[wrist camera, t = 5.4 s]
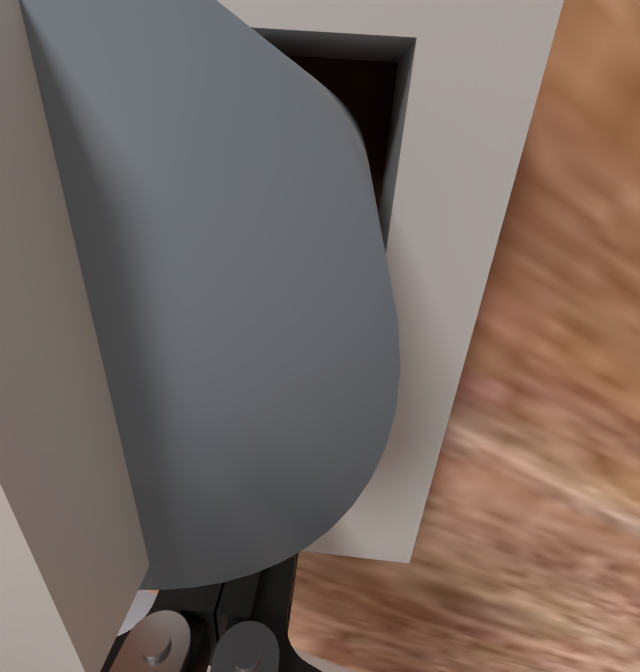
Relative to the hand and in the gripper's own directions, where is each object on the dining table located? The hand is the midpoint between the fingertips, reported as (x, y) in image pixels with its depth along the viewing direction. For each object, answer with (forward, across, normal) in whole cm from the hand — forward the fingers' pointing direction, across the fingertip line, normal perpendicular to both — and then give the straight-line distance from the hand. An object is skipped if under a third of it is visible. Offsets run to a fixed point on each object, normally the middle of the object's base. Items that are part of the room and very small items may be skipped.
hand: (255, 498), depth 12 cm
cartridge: (+5, 0, -8) cm, 10 cm away
